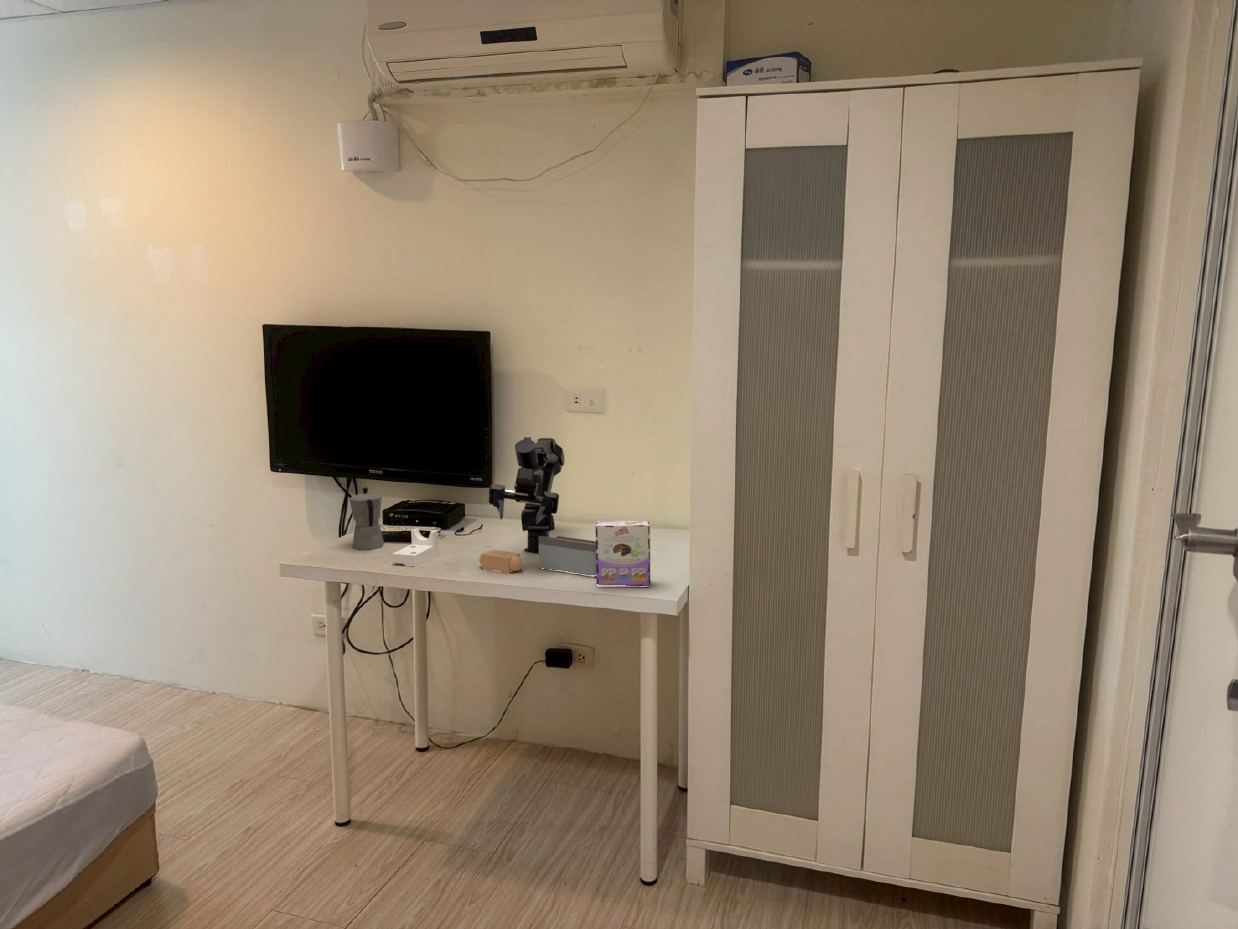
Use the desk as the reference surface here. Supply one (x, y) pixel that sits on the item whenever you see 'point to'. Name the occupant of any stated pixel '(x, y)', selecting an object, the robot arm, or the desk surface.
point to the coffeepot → (366, 521)
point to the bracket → (418, 549)
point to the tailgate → (567, 555)
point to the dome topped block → (500, 561)
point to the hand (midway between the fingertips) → (518, 520)
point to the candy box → (623, 553)
